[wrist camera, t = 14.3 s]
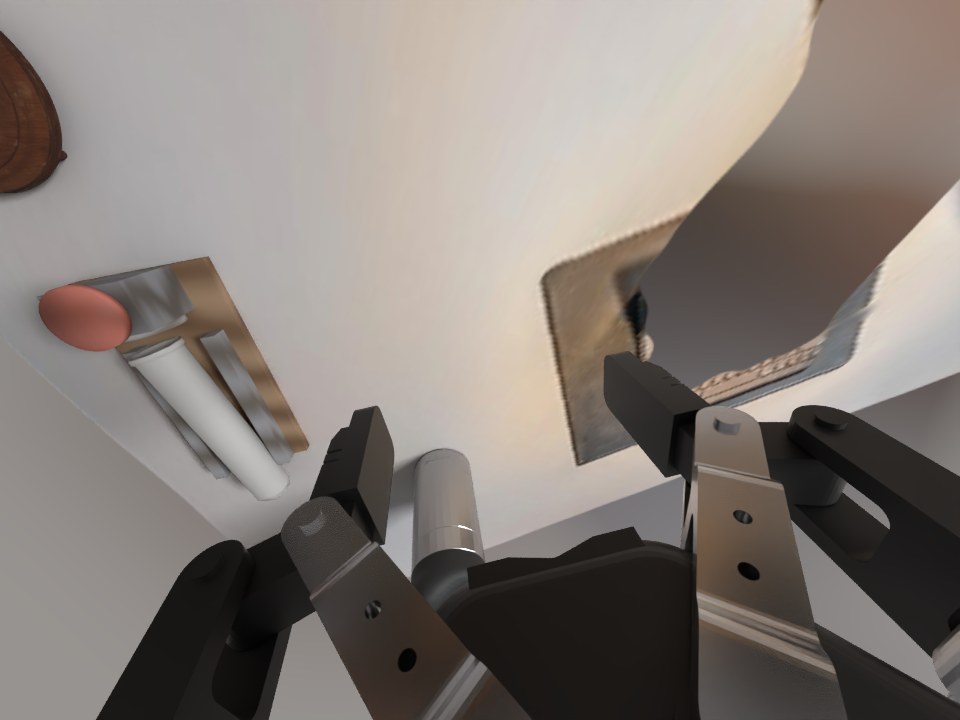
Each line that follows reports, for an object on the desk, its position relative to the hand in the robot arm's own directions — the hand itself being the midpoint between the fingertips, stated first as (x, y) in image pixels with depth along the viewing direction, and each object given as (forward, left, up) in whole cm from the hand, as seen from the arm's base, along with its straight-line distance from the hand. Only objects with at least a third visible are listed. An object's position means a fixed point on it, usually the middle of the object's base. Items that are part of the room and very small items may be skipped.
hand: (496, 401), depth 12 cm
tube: (-16, +33, -32) cm, 49 cm away
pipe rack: (-10, +33, -33) cm, 48 cm away
